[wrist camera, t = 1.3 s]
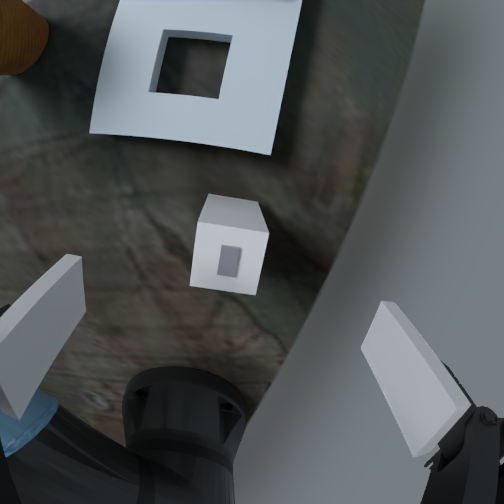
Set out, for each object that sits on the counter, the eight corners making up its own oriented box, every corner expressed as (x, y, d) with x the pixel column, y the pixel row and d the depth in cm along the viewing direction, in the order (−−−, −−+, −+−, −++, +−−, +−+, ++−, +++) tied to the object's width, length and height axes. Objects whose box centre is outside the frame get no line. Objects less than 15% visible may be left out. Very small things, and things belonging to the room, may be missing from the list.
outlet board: (267, 153, 23) (270, 155, 21) (99, 132, 21) (89, 133, 19) (311, -57, 15) (316, -68, 13) (161, -72, 13) (157, -82, 11)
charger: (248, 247, 26) (255, 296, 18) (201, 240, 25) (189, 287, 18) (257, 201, 24) (269, 234, 17) (208, 193, 24) (197, 222, 16)
